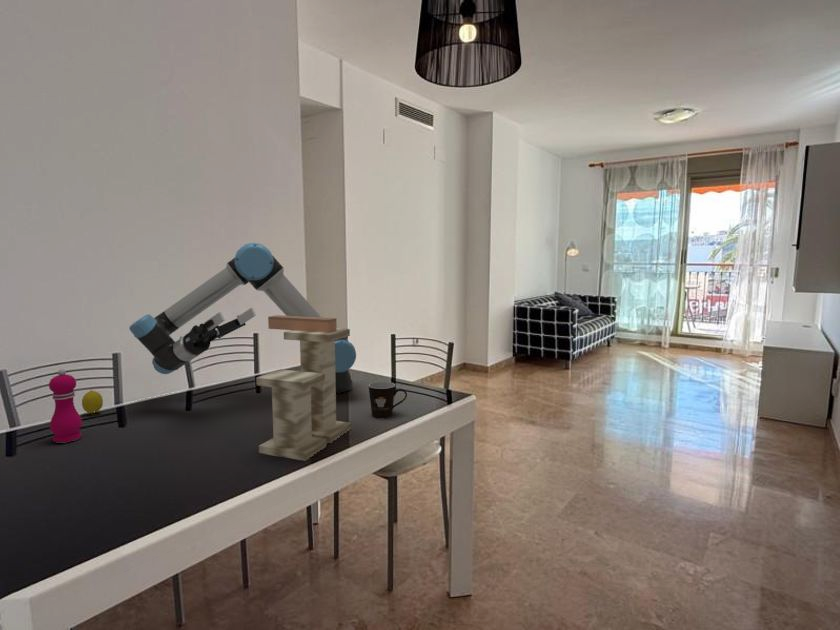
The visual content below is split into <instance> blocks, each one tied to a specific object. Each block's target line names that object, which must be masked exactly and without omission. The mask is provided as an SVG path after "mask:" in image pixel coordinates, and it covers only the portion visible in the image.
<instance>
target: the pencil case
mask: <svg viewBox="0 0 840 630" xmlns="http://www.w3.org/2000/svg"><path fill="white" fill-rule="evenodd" d="M267 322H268V323H267V324H268V327H267V328H268V329H269V330H281V331H282V330H284V331H291V330H297V331H313V332H333V331H337V328H338V327H337V318H336V317H322V316H321V317H302V316H286V315H282V314H281V315H279V314H278V315H277V314H276V315H271V316H270V315H269V316H268V317H267Z"/></svg>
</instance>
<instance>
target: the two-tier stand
mask: <svg viewBox="0 0 840 630" xmlns="http://www.w3.org/2000/svg"><path fill="white" fill-rule="evenodd" d="M350 331H351V329H350V328H340V327H337V331H333V332H313V331H297V330H286V331H283V340H287V341H288V340H289V341H299V352H300V354H299V357H300V370H290V369H281V368H280V369H277V370H274V371H271V372H268V373H266V374H264V375H261V376H257V377H256V378H255V380H256V383H255V384H256V387H257V386H259V387H268V388H271V401H272V402H271V403H272V404H271V405H272V406H271V407H272V408H271V409H272V429H273V431H272V432H273V434H272V436H273V437H272V438H270V439H269V440H266V441H265V442H263V443H261V444H260V445H258V454H260V455H261V454H262V455H267V456H274V457H280V458H286V459H290V460H291V459H292V460H297V461H302V462H303V461H304V462H306V461H308V460H309V459H311V458H312V457H313V456H315V455H316V454H318V453H319V452H321V451H320V450H324V449H325V448H326V447H327V444H328V443H331V444H332V443H334V442H335V441H336V440H338V439H339V438H341V437H342V436H343V434H344V433H345V434H347V431H348V432H349V431H351V430H352V422H347V421H341V420H337V399H336V398H337V394H336V379H335V340H338V339H341V338H344V337H348V338H349V336H351V334H350V333H351V332H350ZM350 429H351V430H350ZM345 434H344V435H345ZM341 435H342V436H341ZM340 436H341V437H340ZM337 438H338V439H337ZM334 440H335V441H334ZM333 441H334V442H333ZM317 452H318V453H317ZM314 454H315V455H314ZM310 457H311V458H310Z"/></svg>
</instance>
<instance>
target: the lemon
mask: <svg viewBox="0 0 840 630" xmlns="http://www.w3.org/2000/svg"><path fill="white" fill-rule="evenodd" d="M103 404H104V400H103V396H102V395H101V393H100V392H98V391H95V390H92V389H90V390H89V391H88V392H86V393H85V394H84V395H83V396H82V400H81V406H82V409H83V410H84V411H85V412H86V413H89V414H91V413H95V412H94V411H96V413H97V412H99V411H100V410H101V409H102V408H103ZM96 413H95V414H96Z"/></svg>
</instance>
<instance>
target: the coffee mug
mask: <svg viewBox="0 0 840 630" xmlns="http://www.w3.org/2000/svg"><path fill="white" fill-rule="evenodd" d="M398 392H403V393H404V395H405V396H404V398H402V400H400V401H398V402H397V403H395V404H394V401H395V396H396V395H397V393H398ZM368 394H369V401H370V410H371V417H373V418H374V417H375V419H379V418H384V419H388V418H387V417H389V418H391V417H392V416H393V410H394V408H395V407H397V406H398V405H400V404H402V403H403V402H404V401H405V400H406V399H407V398H408V397H407V396H408V393H407V391H406V390H405V389H403V388H397V389H396V384H395V383H394V382H390V381H375V382H371V383H369V384H368ZM391 415H392V416H391ZM390 416H391V417H390Z"/></svg>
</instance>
